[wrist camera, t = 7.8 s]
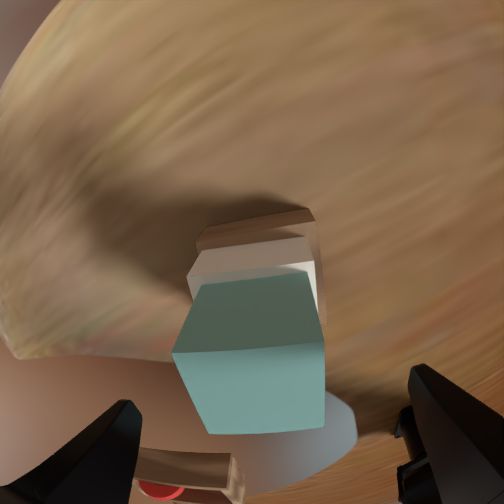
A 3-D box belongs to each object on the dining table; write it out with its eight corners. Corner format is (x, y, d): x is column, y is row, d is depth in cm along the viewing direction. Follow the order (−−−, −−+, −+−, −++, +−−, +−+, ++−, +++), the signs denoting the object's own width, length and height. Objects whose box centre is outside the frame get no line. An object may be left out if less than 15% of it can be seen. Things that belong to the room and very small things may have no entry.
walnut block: (320, 297, 21) (327, 324, 18) (230, 311, 22) (223, 338, 19) (307, 207, 19) (315, 220, 16) (206, 225, 20) (194, 242, 17)
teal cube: (313, 353, 15) (324, 426, 10) (223, 362, 15) (209, 433, 11) (307, 271, 13) (324, 340, 8) (201, 284, 14) (170, 353, 9)
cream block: (313, 323, 18) (320, 359, 15) (223, 333, 19) (214, 368, 16) (305, 236, 16) (314, 260, 13) (202, 250, 17) (186, 276, 14)
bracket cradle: (246, 478, 33) (243, 507, 28) (156, 472, 35) (148, 497, 30) (231, 453, 30) (226, 488, 25) (130, 445, 32) (119, 474, 27)
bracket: (160, 464, 34) (148, 503, 27) (147, 450, 33) (133, 492, 25) (234, 468, 33) (228, 514, 25) (225, 455, 31) (218, 505, 24)
